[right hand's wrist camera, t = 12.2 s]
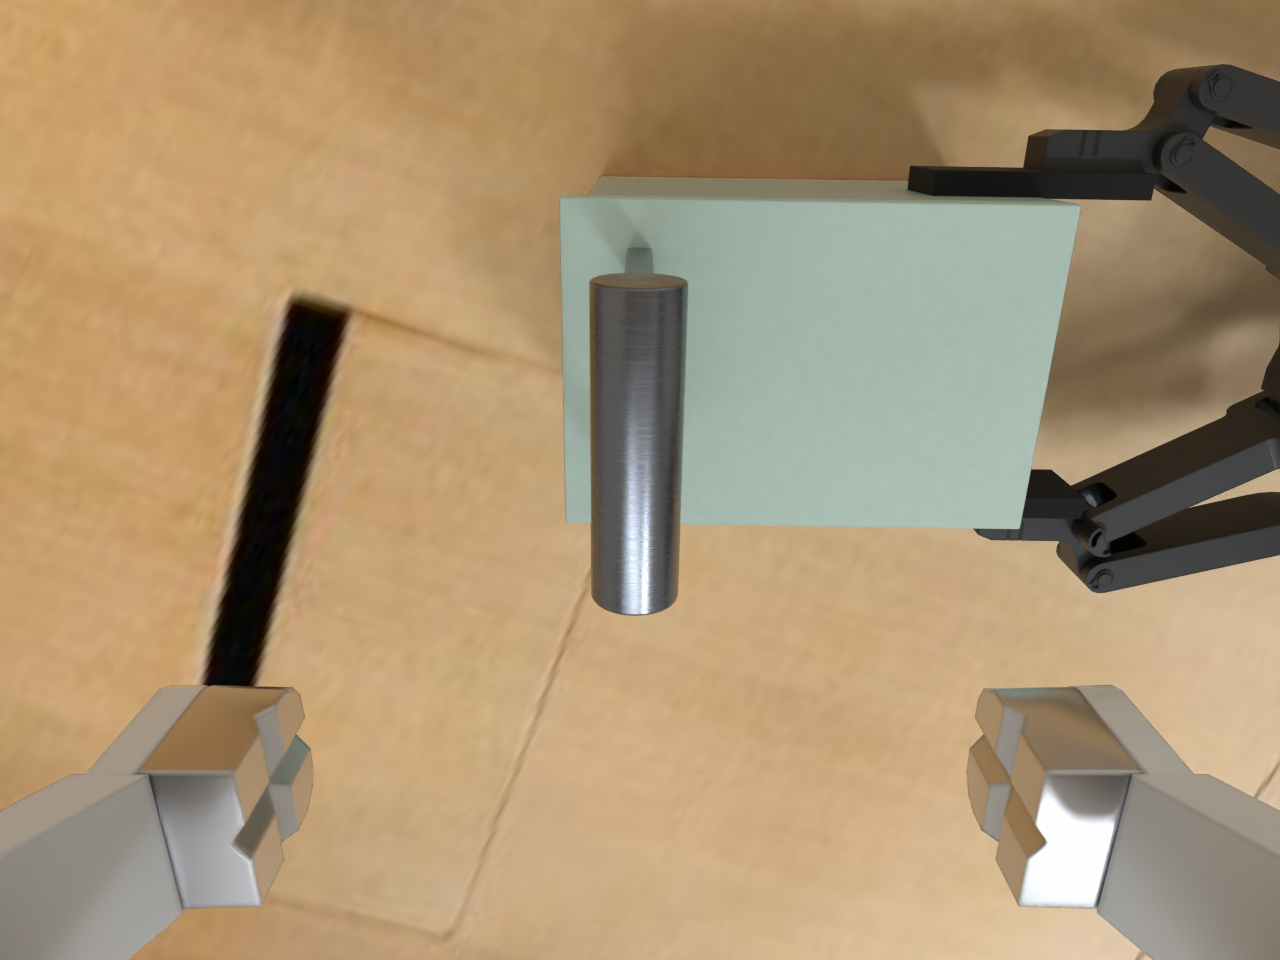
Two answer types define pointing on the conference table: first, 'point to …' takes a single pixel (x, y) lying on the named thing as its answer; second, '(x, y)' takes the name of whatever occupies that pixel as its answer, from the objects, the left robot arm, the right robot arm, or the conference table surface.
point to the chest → (774, 189)
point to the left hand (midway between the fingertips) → (900, 346)
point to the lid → (799, 368)
